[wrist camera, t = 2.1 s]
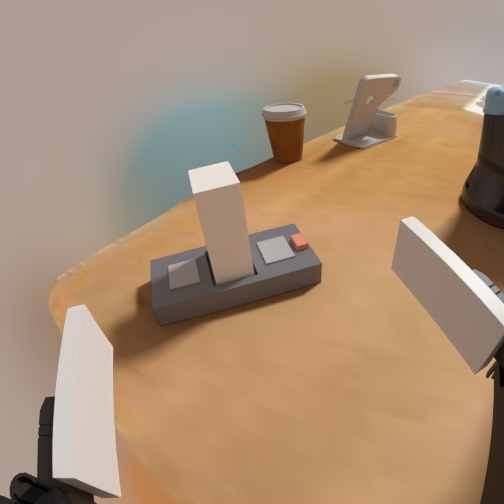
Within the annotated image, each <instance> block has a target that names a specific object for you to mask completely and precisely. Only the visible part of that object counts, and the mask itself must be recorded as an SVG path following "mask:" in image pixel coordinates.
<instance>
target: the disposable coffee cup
mask: <svg viewBox="0 0 504 504" xmlns="http://www.w3.org/2000/svg"><path fill="white" fill-rule="evenodd" d="M306 113H307V111H306V110H305V108H304V106H303V105H301V104H297V103H279V104H273V105H269V106H266V107H264V110H263V113H262V116H263V117H264V119H265V122H266V126H267V130H268V134H269V139H270V142H271V147H272V151H273V155H274V160H275V161H277V162H281V163H292V162H296V161H299V160H301V158H302V150H303V135H304V121H305V116H306Z"/></svg>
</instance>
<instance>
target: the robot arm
mask: <svg viewBox="0 0 504 504" xmlns="http://www.w3.org/2000/svg"><path fill="white" fill-rule="evenodd" d="M483 113H484V120H483V127H482V134H481V140H480V146H479V153H478V158H477V162H476V164H475V165H474V167H473V169H472V171H471V173H470V174H469V176H468V178H467V179H466V181H465V183H464V186H463V190H462V195H461V198H462V201H463V203H464V204H465V206H466V207H467V208H468V209H469V210H470V211H471V212H472V213H473V214H475V215H476V216H477V217H479V218H481V219H482V220H484V221H486V222H488V223H490V224H492V225H495V226H497V227H501V228H504V87H492V88H490V89H489V90H488V91H487V94H486V100H485V107H484V109H483ZM391 269H392V270H393V271H394V272H395V273H396V275H397V276H398V277H399V278H400V279H401V280H402V282H403V283H404V284H405V285H406V286H407V288H408V289H409V290H410V291H411V292H412V293H413V295H414V296H415V297H416V298H417V299H418V301H419V302H420V303H421V304H422V306H423V307H424V308H425V309H426V311H427V312H428V313H429V314H430V316H431V317H432V318H433V319H434V321H435V322H436V323H437V324H438V326H439V327H440V328H441V329H442V331H443V332H444V333H445V335H446V336H447V337H448V339H449V340H450V341H451V343H452V344H453V345H454V346H455V348H456V349H457V351H458V352H459V353H460V355H461V356H462V357H463V359H464V360H465V361H466V363H467V364H468V366H469V367H470V368H471V370H472V371H473V373H474V374H476V373H478V372H479V371H481V370H482V369H483V368H485V367H486V366H487V365H488V364H489V362H490V361H491V360H492V358H493V357H494V358H495V359H496V361H495V363H494V364H493V365H492V367H491V368H490V369H489V371H488V372H487V375H486V378H488V377H489V376H490V375H491V374H492V373H493V371H494V374H493V375H492V377H491V378H492V379H494V406H493V423H492V434H491V444H490V452H489V460H488V466H487V472H486V478H485V484H484V489H483V493H482V498H481V503H480V504H504V294H503V293H502V292H500V290H499V289H498V288H497V287H496V285H495V286H494V283H493V282H492V281H491V280H490V279H489V278H488V277H487V276H486V275H484V274H483V273H481V272H479V271H478V270H476V269H474V270H471V269H470V268H469V267H468V266H467V265H466V264H465V263H464V262H463V261H462V260H461V259H460V258H459V257H458V256H457V255H456V254H455V253H454V252H453V251H452V250H451V249H449V248H448V247H447V246H446V245H445V244H444V243H443V242H442V241H441V240H440V239H439V238H438V237H436V236H435V235H434V234H433V233H432V232H431V231H430V230H429V229H427V228H426V227H425V226H424V225H423V224H422V223H421V222H419V221H418V220H417V219H416V218H415V217H414V216H412V217H409V218H405V219H402V220H400V225H399V231H398V237H397V242H396V247H395V252H394V257H393V262H392V267H391ZM39 425H40V427H39V432H38V435H39V438H38V464H37V465H38V467H37V468H38V469H37V470H38V471H37V472H38V473H37V478H36V477H34V476H32V475H30V474H27V473H19V474H18V475H16V476H15V477H14V478H13V480H12V481H11V485H10V497H11V499H9V498H6V497H4V496H1V495H0V504H97V503H95V502H94V496H93V495H95V496H98V497H101V498H118V497H121V490H120V482H119V474H118V465H117V454H116V442H115V427H114V405H113V346H112V345H111V344H110V342H109V341H108V339H107V338H106V336H105V335H104V333H103V332H102V331H101V329H100V328H99V326H98V325H97V323H96V322H95V320H94V319H93V317H92V315H91V314H90V312H89V311H88V309H87V308H86V306H85V304H83V305H79V306H75V307H71V308H68V311H67V316H66V321H65V326H64V332H63V338H62V344H61V351H60V358H59V366H58V374H57V382H56V393H55V396H54V397H46V398H45V400H44V403H43V405H42V407H41V410H40V418H39Z"/></svg>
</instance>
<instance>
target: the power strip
mask: <svg viewBox="0 0 504 504" xmlns="http://www.w3.org/2000/svg"><path fill="white" fill-rule="evenodd" d="M248 236H249V243H250V249H251V256H252V262H253V268H254V276H250V277H247V278H243V279H239V280H235V281H232V282H228V283H224V284H220V285H217V284H216V281H215V277H214V273H213V270H212V266H211V262H210V258H209V254H208V250H207V247H206V246H204V247H200V248H196V249H192V250H189V251H185V252H181V253H177V254H173V255H170V256H166V257H162V258H158V259H155V260H151V298H152V310H153V312H154V314H155V316H156V318H157V320H158V322H159V324H160V326H162V325H166V324H170V323H174V322H178V321H182V320H186V319H190V318H194V317H198V316H202V315H206V314H210V313H213V312H217V311H221V310H225V309H228V308H232V307H236V306H239V305H243V304H247V303H250V302H254V301H257V300H261V299H264V298H268V297H272V296H275V295H278V294H282V293H285V292H289V291H292V290H296V289H299V288H302V287H306V286H309V285H312V284H316V283H319V282H321V268H322V263H321V262H320V260H319V259H318V257H317V256H316V254H315V253H314V251H313V250H312V249H311V247H310V246H309V244H308V242H307V241H306V239H305V238H304V236H303V235H302V234H301V233H300V231H299V230H298V228H297V227H296V226H295V224H290V225H286V226H282V227H278V228H274V229H270V230H266V231H262V232H258V233H254V234H250V235H248Z"/></svg>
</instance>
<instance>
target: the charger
mask: <svg viewBox="0 0 504 504" xmlns="http://www.w3.org/2000/svg"><path fill="white" fill-rule="evenodd" d="M188 173H189V177H190V182H191V186H192V190H193V194H194V199H195V203H196V207H197V211H198V215H199V219H200V223H201V227H202V231H203V235H204V239H205V243H206V247H207V250H208V254H209V258H210V262H211V266H212V270H213V273H214V277H215V281H216V284H217V285H220V284H224V283H228V282H232V281H235V280H239V279H243V278H247V277H250V276H254V268H253V262H252V256H251V249H250V243H249V236H248V230H247V224H246V217H245V211H244V204H243V198H242V191H241V185H240V181H239V180H238V178H237V176H236V174H235V173H234V171H233V169H232V168H231V166H230V164H229V162H228V161H226V162H222V163H218V164H214V165H209V166H205V167H201V168H197V169H193V170H189V171H188Z"/></svg>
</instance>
